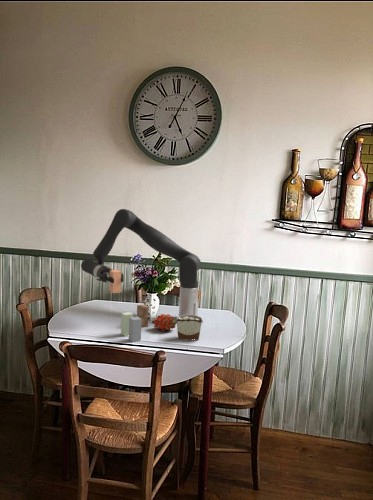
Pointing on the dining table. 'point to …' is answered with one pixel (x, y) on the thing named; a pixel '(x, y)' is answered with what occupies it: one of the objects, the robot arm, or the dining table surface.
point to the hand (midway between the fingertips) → (117, 280)
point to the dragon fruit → (164, 322)
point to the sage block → (125, 323)
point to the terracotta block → (115, 281)
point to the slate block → (134, 329)
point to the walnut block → (143, 315)
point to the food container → (188, 326)
